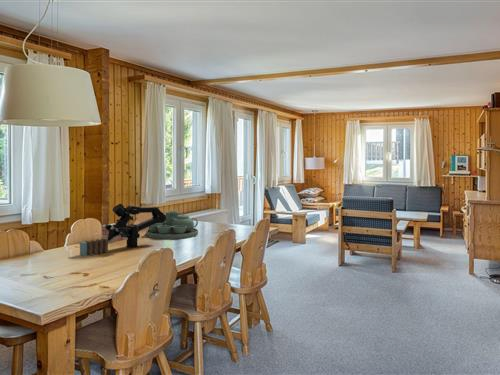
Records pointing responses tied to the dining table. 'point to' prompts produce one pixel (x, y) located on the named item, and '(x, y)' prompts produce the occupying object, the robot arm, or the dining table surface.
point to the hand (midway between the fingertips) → (108, 240)
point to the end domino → (83, 248)
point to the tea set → (173, 227)
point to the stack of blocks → (106, 233)
